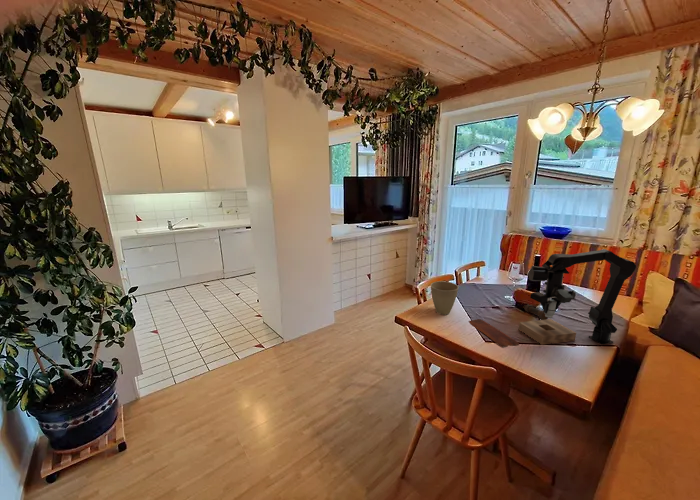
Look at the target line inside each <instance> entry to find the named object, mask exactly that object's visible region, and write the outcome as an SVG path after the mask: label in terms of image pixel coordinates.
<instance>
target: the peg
mask: <svg viewBox="0 0 700 500" xmlns="http://www.w3.org/2000/svg"><path fill="white" fill-rule="evenodd" d="M550 301H551V302H552V303H550V304H549V307H548V312H547V313H545V316H546V317H548V319H553V318H554V316H555V313H556V312H555V308H556V303H557V302H556V301H555V300H551V298H550Z"/></svg>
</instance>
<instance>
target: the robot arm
mask: <svg viewBox="0 0 700 500" xmlns="http://www.w3.org/2000/svg"><path fill="white" fill-rule="evenodd" d="M598 261H605V262H607V263H608V264H610V265H609V275H610V276H609V279H608V281H607V283H606V286H605V288H604V290H603V294H602V295H601V297H600V301H599V303H598V305H596V306H591V307H590V308H589V312H588V313H587V314H588V318H589V320H590V321H591V323H592V324H593V325H594V326H593V329H592V335H588V338H589V339H591V340H593V341H595V342H597V343H598V344H601V345H606V344H608V345H609V344H613V343H614V341H613V340H611V336H612V334H615V333H616V332H617V331H618V328H617V327H616V326H615V325H614V324H613V319H614V314H613V308H614V306H615V303H616V301H617V299H618V298H619V297H618V296H619V294H620V292H621V289H622V288H623V285H624V283H625V281H626V280H628V279H629V278H630V277H632V276H633V274H634V273H635V271H636V269H637V264H636V263H635V262H634V261H631V260H630V259H626V258H624V257H621V256H619V255H617V254H615V253H614V252H613V251H611V250H608V249H606V248H604V249H603V248H602V249H599V250H591V251H587V252H578V253H573V254H572V253H571V254H569V253H568V254H567V253H552V254H551V255H550V256H549V257H548V259H547V260H546V261H545V262H544V263H543V264H541V266H538V265H537V266H536V265H532V266H531V268H530V269H529V271H528V279H529V281H533V282H534V281H535V282H544V285H546V286H545V289H543V291H542V292H543V293H542V292H539V291H537V292H536V291H533V292H532V293H530V297H529V298H530V299H532V300H534V301H536V302H538V303H540V305H541V308H542V311H544V313H547V312H548V307H549V304H550V303H552V302H551V301H550V299H551V300H555V301H556V302H557V303H556V308H555V313H556V312H557V310H558V309H559V307H560V305H561V304H565V303H571V302H572V300H575V299H576V295H577V294H576V291H574V290H567V289H565V285H564V284H563V280H564V275H565V274H567V275H568V274H570V271H568V269H567V268H571V267H572V266H575V265H577V264H584V263H585V264H586V263H592V262H598Z"/></svg>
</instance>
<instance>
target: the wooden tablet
mask: <svg viewBox="0 0 700 500" xmlns="http://www.w3.org/2000/svg"><path fill="white" fill-rule="evenodd" d="M468 323H469V325H471V326H472V327H474V328H475V329H477V331H479V332H481V333H482V334H484V335H485V336H487V338H488V339H490V340H491V341H492V342H494V343H495V344H497V345H498V346H499V347H501V348H507V347H516V346H519V345H520V343H519V342H518V341H517V340H515V339H513V338H512V337H510V336H509V335H507V334H506V333H504V332H502V331H501V330H500V329H498V328H497V327H495V326H493V325H491V324H489V323H488V322H486V321H485V320H483V319H481V318H476V319H471V320H469V321H468Z"/></svg>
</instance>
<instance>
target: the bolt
mask: <svg viewBox="0 0 700 500" xmlns="http://www.w3.org/2000/svg"><path fill="white" fill-rule="evenodd" d="M526 304H527V303H526ZM529 304H530V303H528V304H527V305H524V306H523V308H524V309H523V308H522V309H523V310H524V311H525V312H526V311H527V312H526V313H528V312H530V313H531V314H533V315H536V316H537V317H538V318H539V320H540V319H541V320H546V319H549V318H548V317H546V316H545V313H544V310H540V309H537V308H536V307H534V305H532V304H531V305H529Z"/></svg>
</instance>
